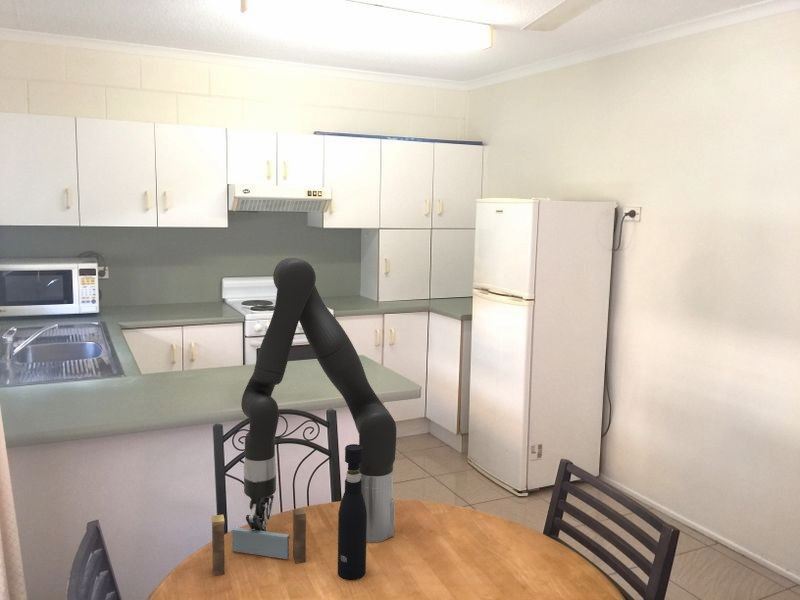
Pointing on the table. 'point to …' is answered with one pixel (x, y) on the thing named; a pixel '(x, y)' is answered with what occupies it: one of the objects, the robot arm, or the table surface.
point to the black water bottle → (352, 520)
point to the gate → (260, 542)
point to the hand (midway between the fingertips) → (260, 541)
